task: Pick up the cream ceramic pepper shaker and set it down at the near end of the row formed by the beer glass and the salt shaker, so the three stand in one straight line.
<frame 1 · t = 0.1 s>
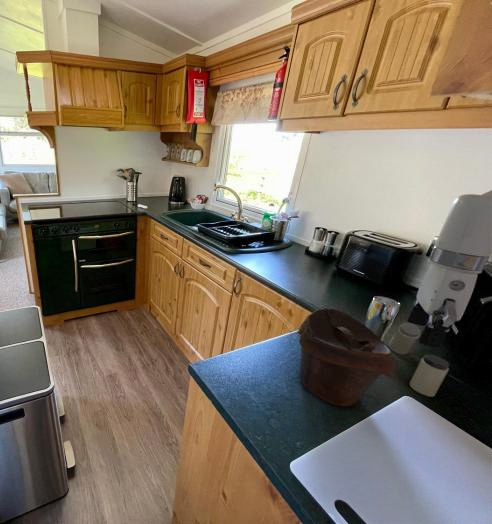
hand: (421, 333, 62), 19 cm above the countertop, tool pointing down, fingers open, 9 cm apart
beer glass: (370, 342, 93), on the countertop
pepper shaker: (421, 389, 74), on the countertop
brown lidded pot: (328, 388, 73), on the countertop
salt shaker: (398, 347, 90), point 1 cm above the countertop, tilted 22°
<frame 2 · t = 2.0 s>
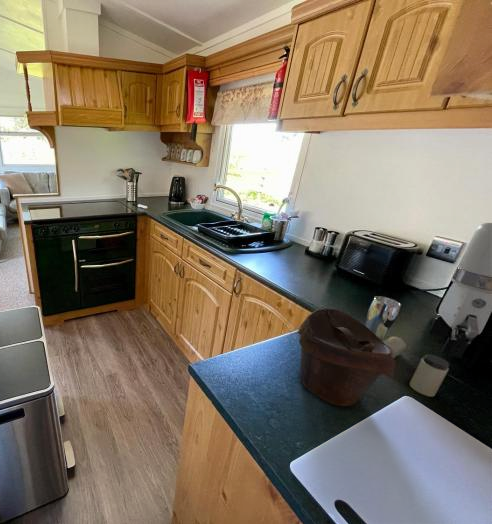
hand: (443, 344, 69), 14 cm above the countertop, tool pointing down, fingers open, 9 cm apart
salt shaker: (395, 344, 88), point 2 cm above the countertop, tilted 90°
everything else where it was.
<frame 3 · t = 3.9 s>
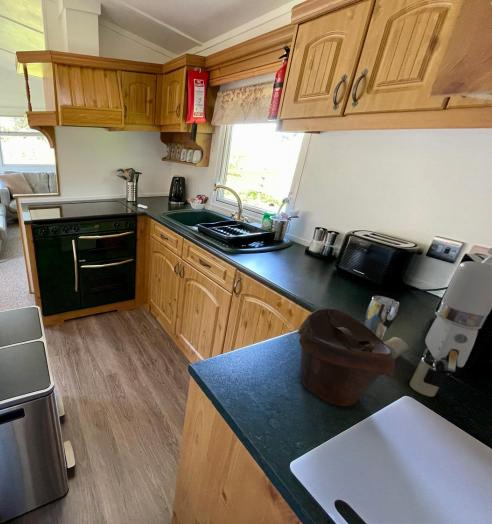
hand: (428, 376, 73), 4 cm above the countertop, tool pointing down, fingers closed on pepper shaker, 5 cm apart
pepper shaker: (421, 389, 74), on the countertop, touching gripper
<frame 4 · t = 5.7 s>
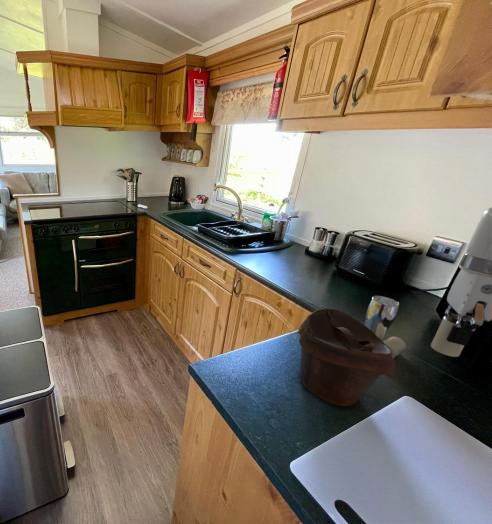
hand: (451, 336, 68), 16 cm above the countertop, tool pointing down, fingers closed on pepper shaker, 5 cm apart
pepper shaker: (444, 350, 70), point 12 cm above the countertop, touching gripper
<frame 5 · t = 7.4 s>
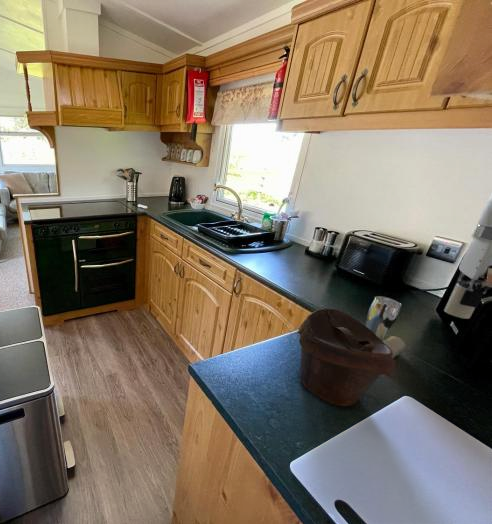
hand: (463, 300, 76), 21 cm above the countertop, tool pointing down, fingers closed on pepper shaker, 5 cm apart
pepper shaker: (456, 313, 78), point 17 cm above the countertop, touching gripper
everything else where it was.
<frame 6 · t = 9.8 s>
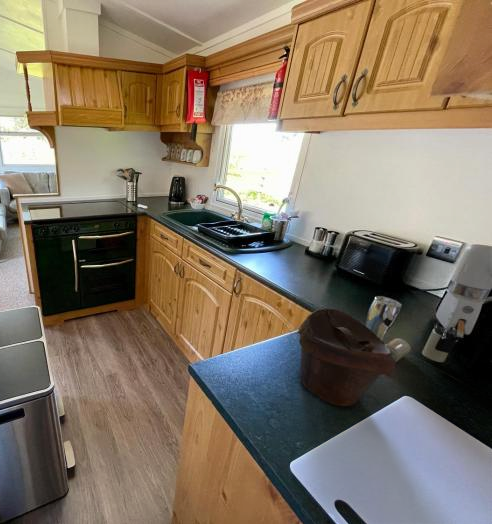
hand: (439, 345, 84), 5 cm above the countertop, tool pointing down, fingers closed on pepper shaker, 5 cm apart
pepper shaker: (432, 356, 86), point 1 cm above the countertop, touching gripper
salt shaker: (400, 346, 87), point 2 cm above the countertop, tilted 90°
everything else where it was.
when the fingers open (4 cm above the countertop, at t = 10.6 s): pepper shaker stays where it is, on the countertop.
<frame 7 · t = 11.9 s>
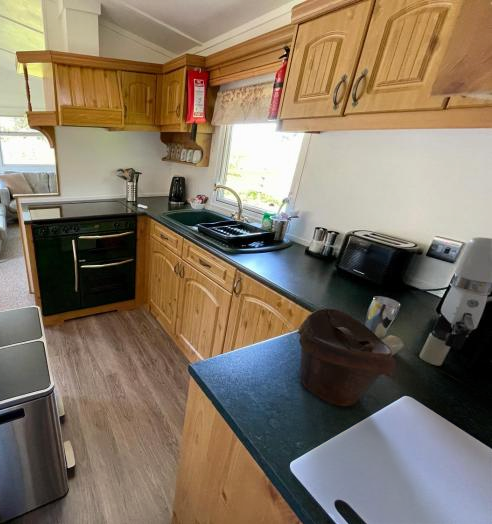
hand: (446, 338, 83), 8 cm above the countertop, tool pointing down, fingers open, 9 cm apart
pepper shaker: (430, 359, 86), on the countertop
salt shaker: (393, 343, 89), point 2 cm above the countertop, tilted 90°
everything else where it was.
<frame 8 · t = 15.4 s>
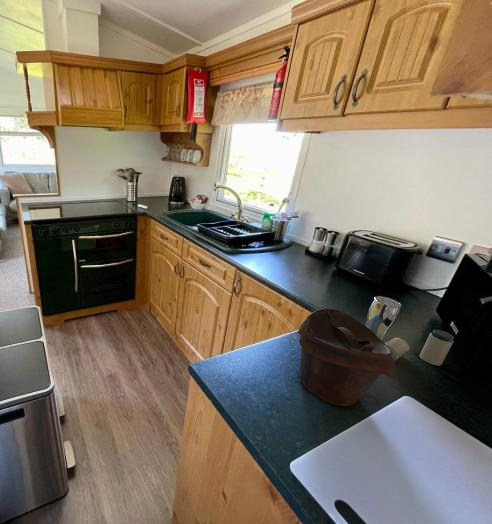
salt shaker: (398, 346, 88), point 2 cm above the countertop, tilted 90°
everything else where it was.
at the end: pepper shaker 0.3 cm from the target spot, on the countertop; pepper shaker tilted 0°; the gripper is holding nothing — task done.
